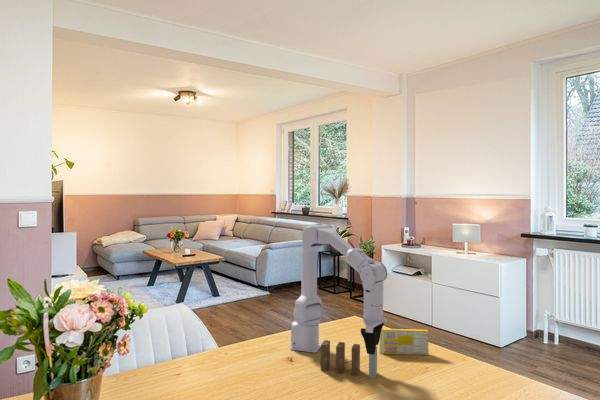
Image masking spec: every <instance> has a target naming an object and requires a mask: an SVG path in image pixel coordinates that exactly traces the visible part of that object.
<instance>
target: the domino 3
mask: <svg viewBox="0 0 600 400" xmlns="http://www.w3.org/2000/svg"><path fill="white" fill-rule="evenodd" d="M350 362H351V366H350V367H351V368H350V369H351V375H352V376H358V375H359V372H360V371H361V344H358V343H353V345H352V347H351V361H350Z"/></svg>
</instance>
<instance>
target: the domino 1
mask: <svg viewBox="0 0 600 400" xmlns="http://www.w3.org/2000/svg"><path fill="white" fill-rule="evenodd" d="M321 343H322V344H321V347H320V371H322V372H323V371H324V372H327V371H328V370H329V368H330V367H331V340H326V339H324V340H323V341H322V342H321Z"/></svg>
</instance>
